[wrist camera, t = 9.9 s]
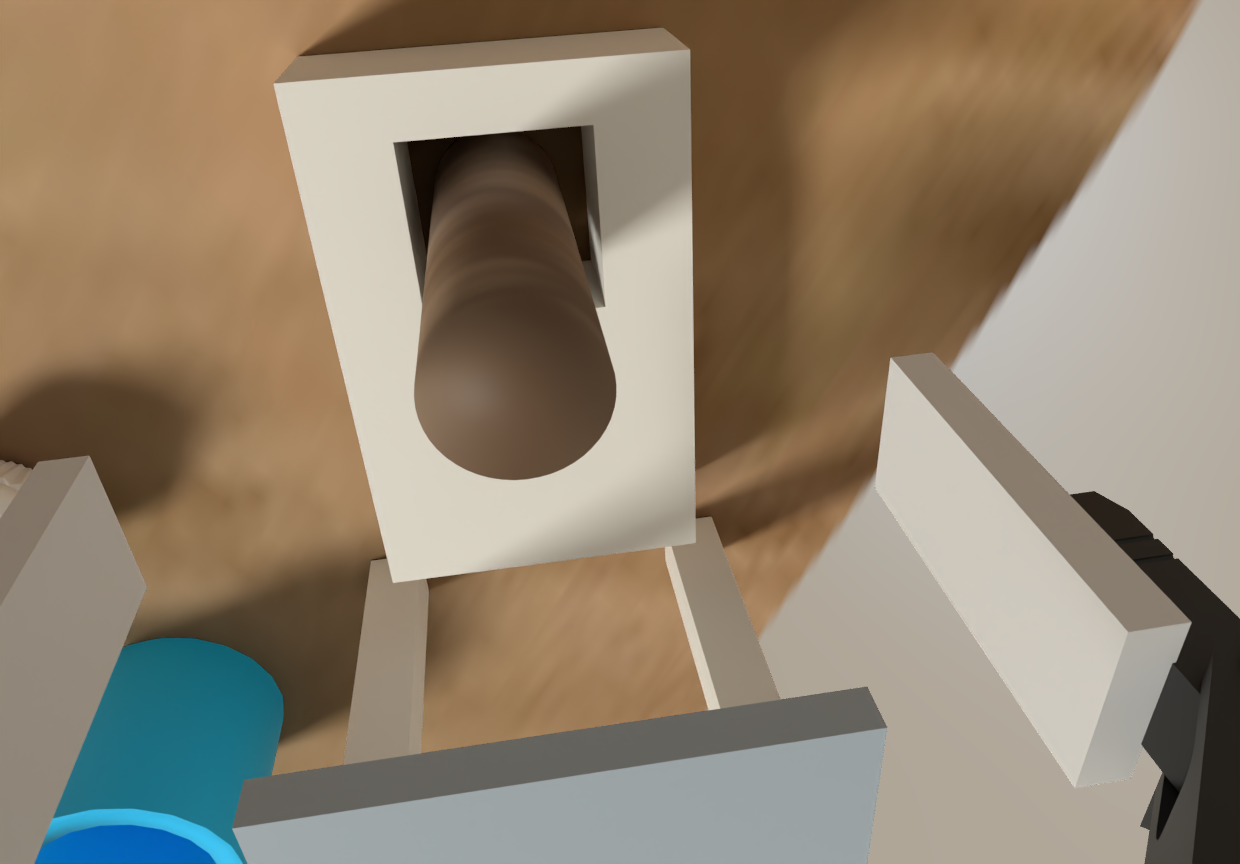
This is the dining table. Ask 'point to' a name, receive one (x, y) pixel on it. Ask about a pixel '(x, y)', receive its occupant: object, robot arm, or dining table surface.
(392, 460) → the socket block
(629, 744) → the grey-topped arch
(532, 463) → the peg
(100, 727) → the mug
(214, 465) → the dining table surface
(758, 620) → the dining table surface
